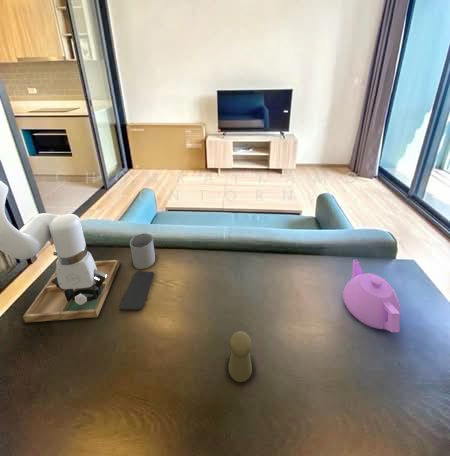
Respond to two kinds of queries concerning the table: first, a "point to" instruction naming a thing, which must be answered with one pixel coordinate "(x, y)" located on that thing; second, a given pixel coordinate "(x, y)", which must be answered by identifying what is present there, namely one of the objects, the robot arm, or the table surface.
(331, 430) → the table surface
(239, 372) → the olive pawn figure
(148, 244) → the cup
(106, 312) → the table surface
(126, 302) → the phone
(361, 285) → the teapot
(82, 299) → the watch
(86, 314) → the tray
